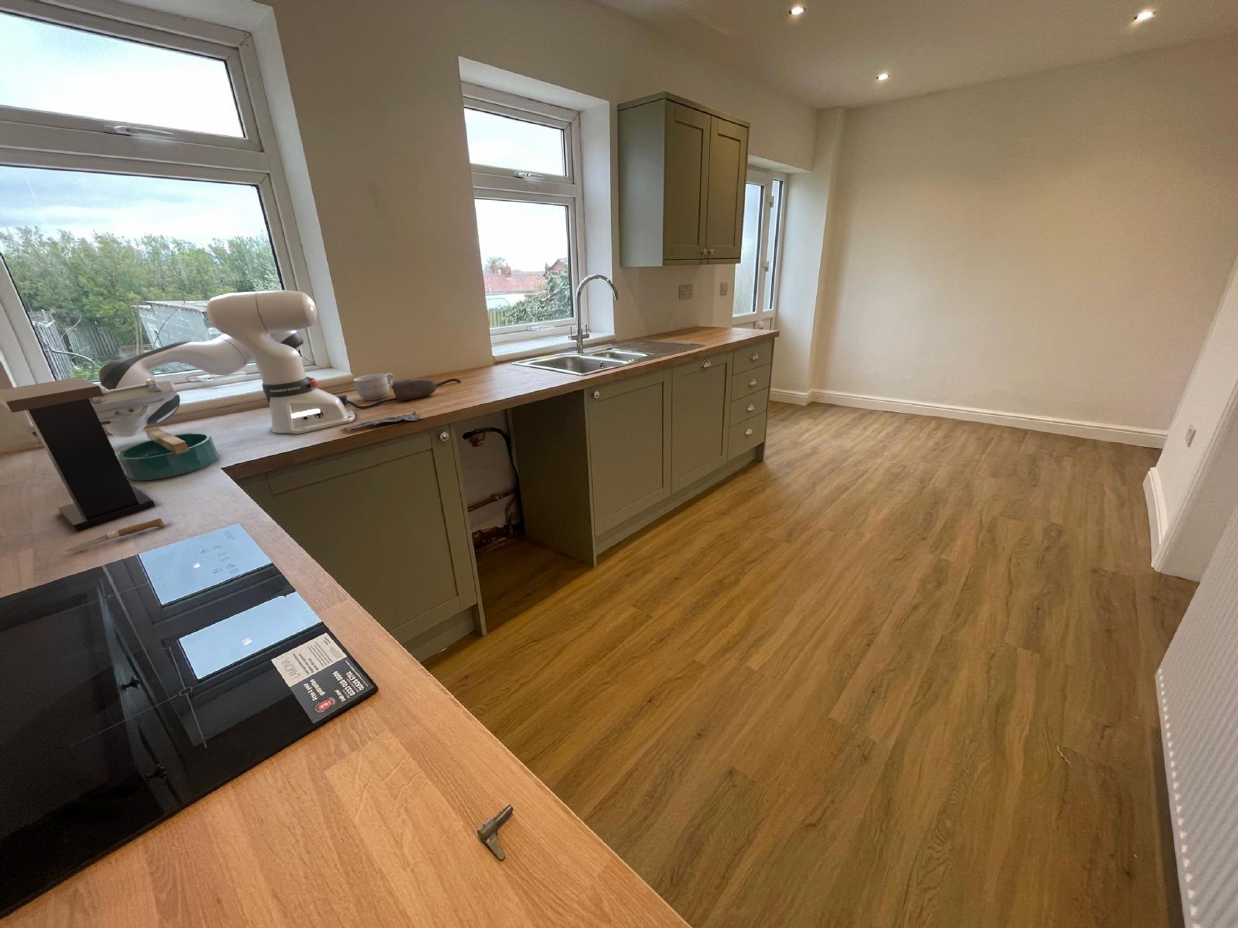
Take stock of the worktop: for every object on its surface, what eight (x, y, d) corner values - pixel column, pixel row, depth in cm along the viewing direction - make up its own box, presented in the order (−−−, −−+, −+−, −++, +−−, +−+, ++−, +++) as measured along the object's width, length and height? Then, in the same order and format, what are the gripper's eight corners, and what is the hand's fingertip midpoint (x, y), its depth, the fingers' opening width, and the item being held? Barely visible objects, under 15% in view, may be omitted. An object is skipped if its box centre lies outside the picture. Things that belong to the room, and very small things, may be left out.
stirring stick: (148, 438, 129) (144, 429, 128) (160, 435, 130) (156, 426, 130) (176, 454, 117) (172, 444, 116) (189, 450, 119) (185, 441, 118)
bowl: (222, 449, 137) (214, 428, 134) (213, 470, 123) (204, 447, 120) (139, 464, 129) (129, 442, 126) (119, 488, 115) (107, 464, 112)
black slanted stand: (59, 511, 105) (-8, 391, 95) (132, 489, 114) (78, 377, 104) (77, 531, 96) (5, 401, 86) (155, 506, 105) (99, 385, 95)
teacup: (363, 404, 172) (358, 381, 169) (354, 398, 180) (349, 376, 177) (404, 396, 181) (399, 374, 177) (394, 390, 188) (389, 369, 185)
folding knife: (66, 557, 88) (60, 548, 87) (66, 554, 89) (61, 545, 88) (165, 527, 97) (161, 518, 96) (164, 525, 98) (160, 516, 97)
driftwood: (345, 434, 144) (343, 427, 143) (343, 428, 149) (341, 421, 148) (420, 420, 153) (418, 414, 152) (416, 415, 158) (414, 409, 158)
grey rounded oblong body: (435, 392, 183) (431, 373, 180) (440, 395, 179) (436, 376, 176) (392, 400, 175) (388, 381, 172) (396, 403, 171) (391, 384, 168)
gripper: (179, 406, 142) (184, 387, 133) (80, 428, 127) (78, 408, 117) (167, 386, 141) (172, 366, 132) (66, 405, 126) (64, 384, 117)
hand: (127, 386), depth 125 cm, fingers open, 8 cm apart
